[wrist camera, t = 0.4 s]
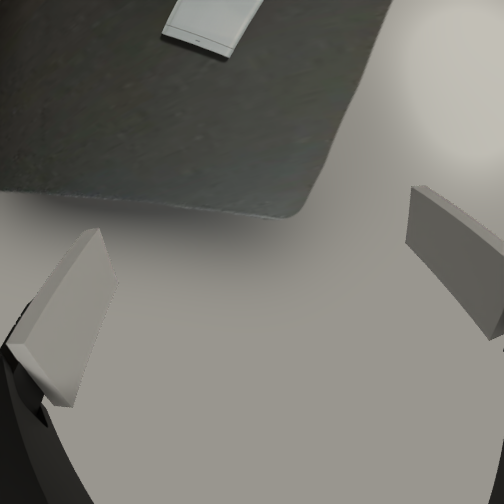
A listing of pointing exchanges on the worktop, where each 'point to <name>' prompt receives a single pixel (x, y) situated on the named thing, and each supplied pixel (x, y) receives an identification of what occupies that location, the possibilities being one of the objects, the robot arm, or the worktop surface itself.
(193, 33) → the hard drive
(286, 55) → the worktop surface
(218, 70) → the worktop surface
